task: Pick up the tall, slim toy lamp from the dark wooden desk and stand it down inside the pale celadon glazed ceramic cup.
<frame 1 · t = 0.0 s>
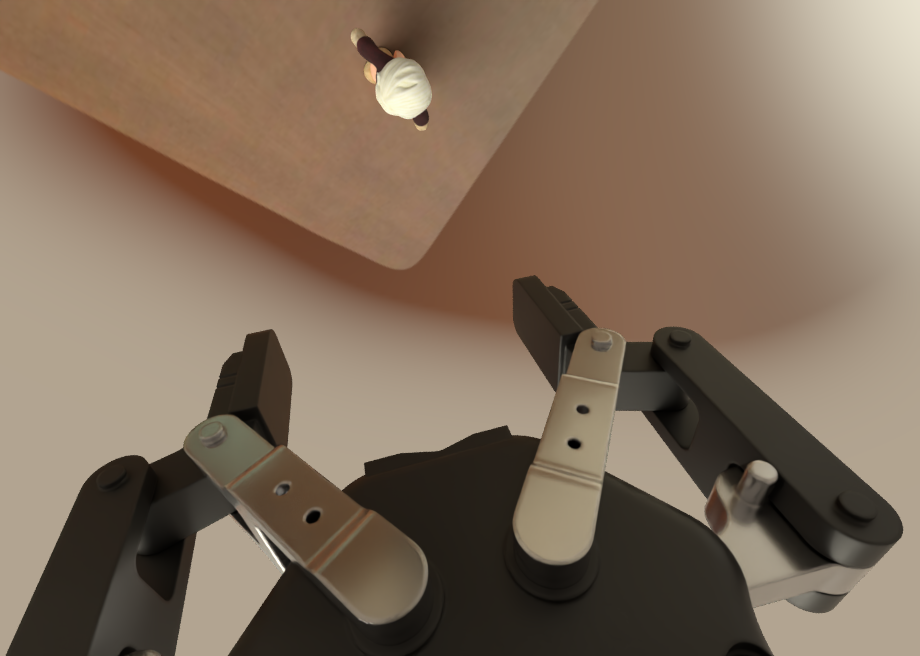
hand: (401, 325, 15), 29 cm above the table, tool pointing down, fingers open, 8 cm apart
grandmother figurine: (385, 72, 36), on the table
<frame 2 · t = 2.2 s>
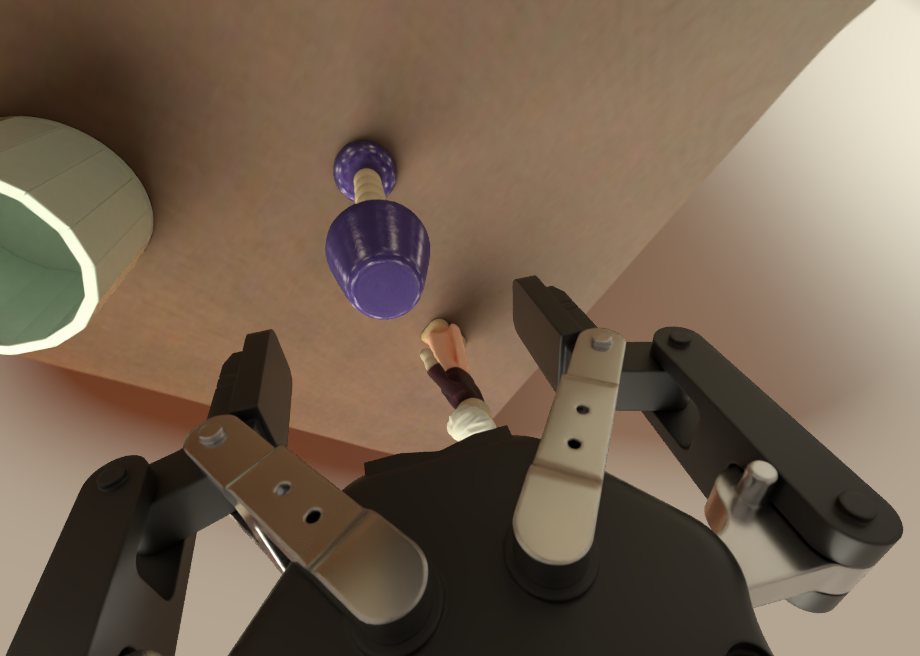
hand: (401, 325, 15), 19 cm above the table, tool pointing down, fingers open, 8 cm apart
grandmother figurine: (439, 333, 40), on the table
glazed cup: (60, 202, 26), on the table
toy lamp: (359, 172, 30), on the table
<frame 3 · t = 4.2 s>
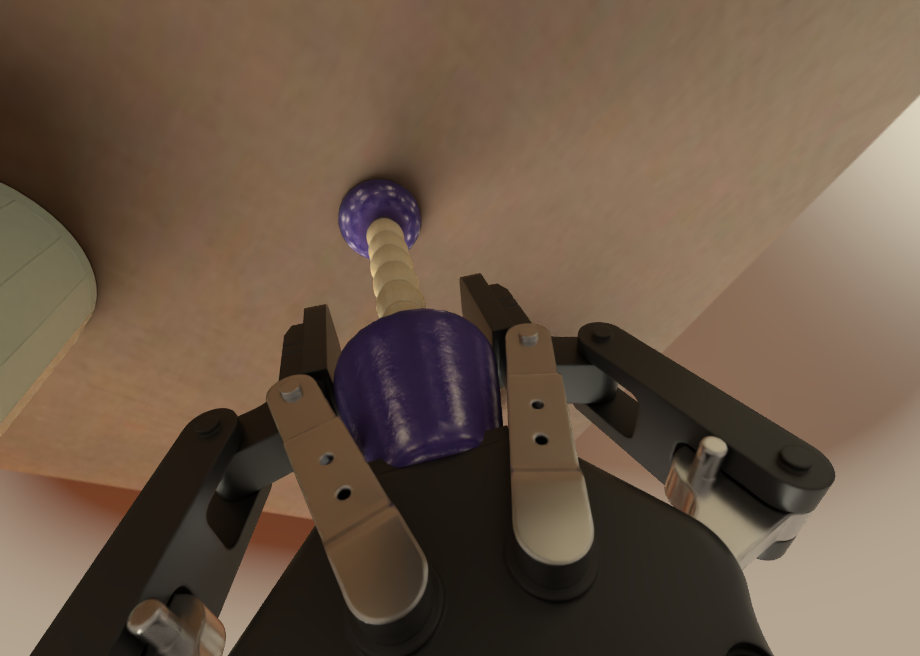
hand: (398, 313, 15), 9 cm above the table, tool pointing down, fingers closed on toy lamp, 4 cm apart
toy lamp: (373, 218, 23), on the table, touching gripper
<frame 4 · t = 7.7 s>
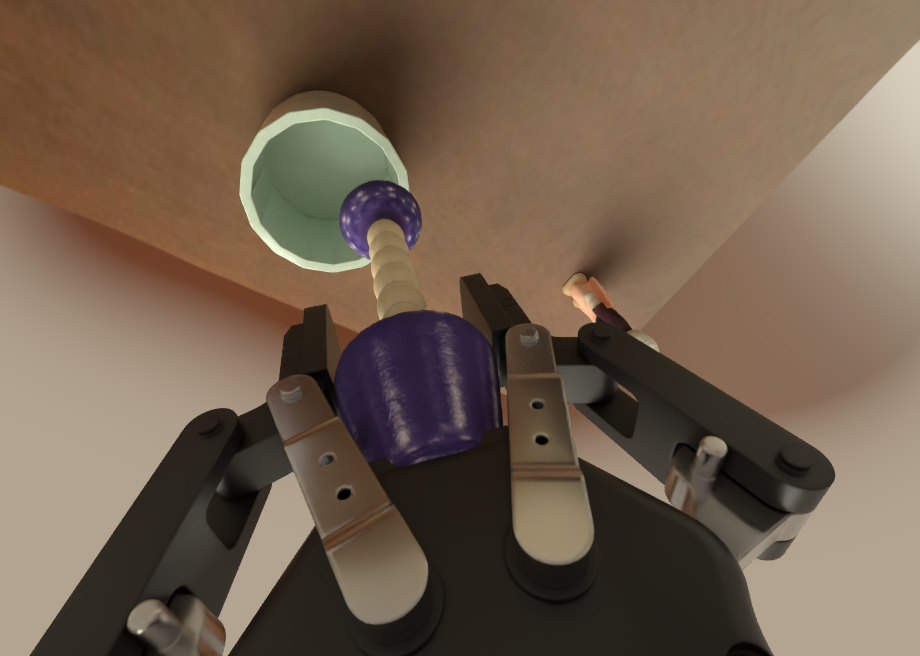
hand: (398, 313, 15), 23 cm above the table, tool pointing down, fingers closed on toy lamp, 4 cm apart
grandmother figurine: (576, 286, 46), on the table
glazed cup: (327, 162, 33), on the table
toy lamp: (373, 219, 23), point 13 cm above the table, touching gripper
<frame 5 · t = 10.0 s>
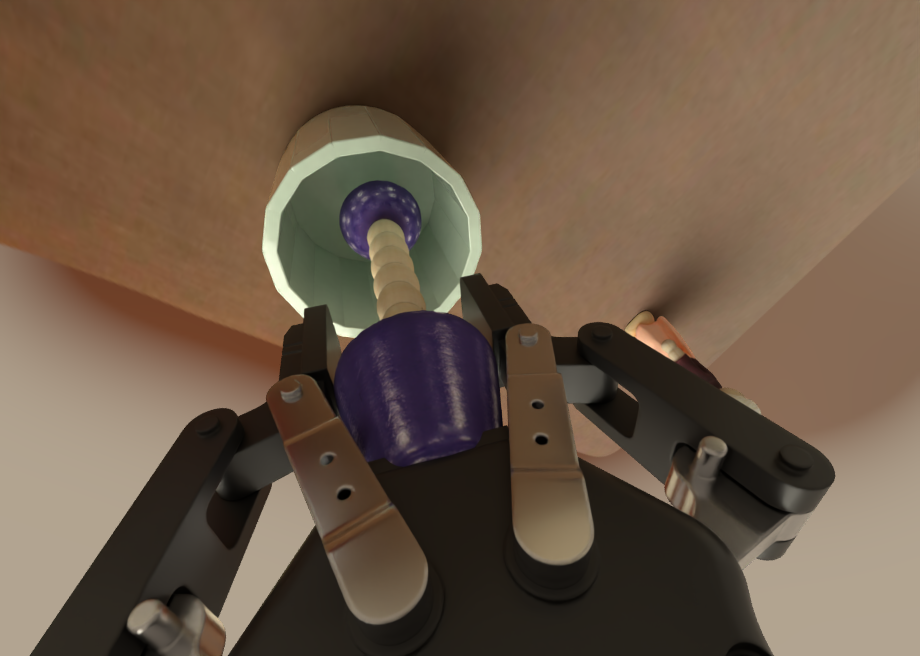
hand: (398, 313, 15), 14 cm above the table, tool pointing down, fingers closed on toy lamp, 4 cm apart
grandmother figurine: (640, 326, 40), on the table
glazed cup: (363, 192, 27), on the table
toy lamp: (373, 219, 23), point 5 cm above the table, touching gripper
when the fingers open (10 cm above the table, at t = 11.7 s): toy lamp stays where it is, resting on glazed cup.
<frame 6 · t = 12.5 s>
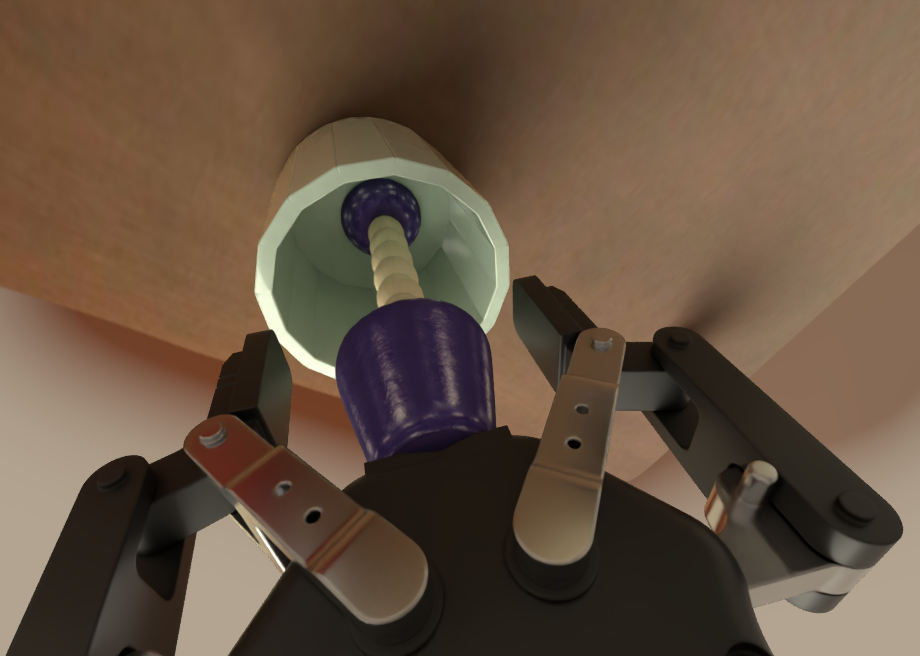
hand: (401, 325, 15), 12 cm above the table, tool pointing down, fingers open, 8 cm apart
glazed cup: (370, 212, 24), on the table, touching toy lamp
toy lamp: (374, 216, 24), point 1 cm above the table, touching glazed cup
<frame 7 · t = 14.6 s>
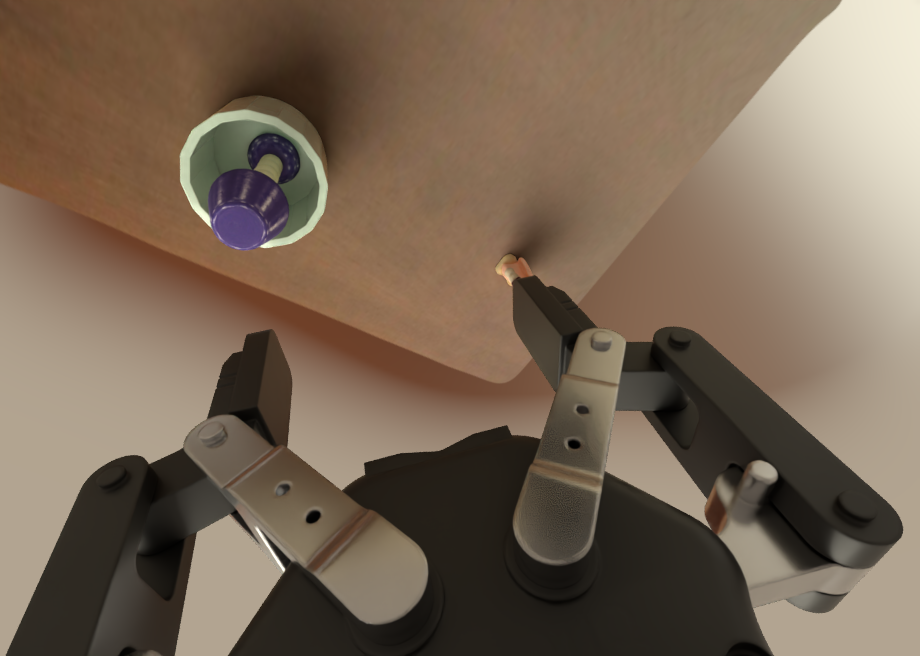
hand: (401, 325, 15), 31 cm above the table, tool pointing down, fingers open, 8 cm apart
grandmother figurine: (508, 267, 51), on the table
glazed cup: (269, 156, 39), on the table, touching toy lamp
toy lamp: (270, 158, 38), point 1 cm above the table, touching glazed cup
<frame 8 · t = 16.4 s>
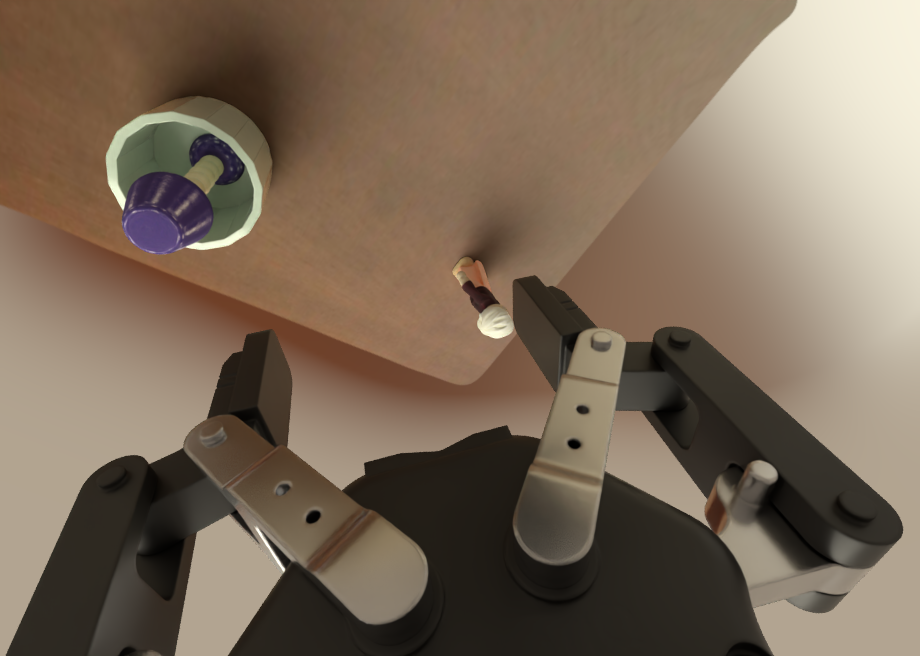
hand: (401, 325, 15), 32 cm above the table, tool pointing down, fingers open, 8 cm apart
grandmother figurine: (466, 269, 51), on the table
glazed cup: (213, 157, 38), on the table, touching toy lamp
toy lamp: (213, 159, 38), point 1 cm above the table, touching glazed cup
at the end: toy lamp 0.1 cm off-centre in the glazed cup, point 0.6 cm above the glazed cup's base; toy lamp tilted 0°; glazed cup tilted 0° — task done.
